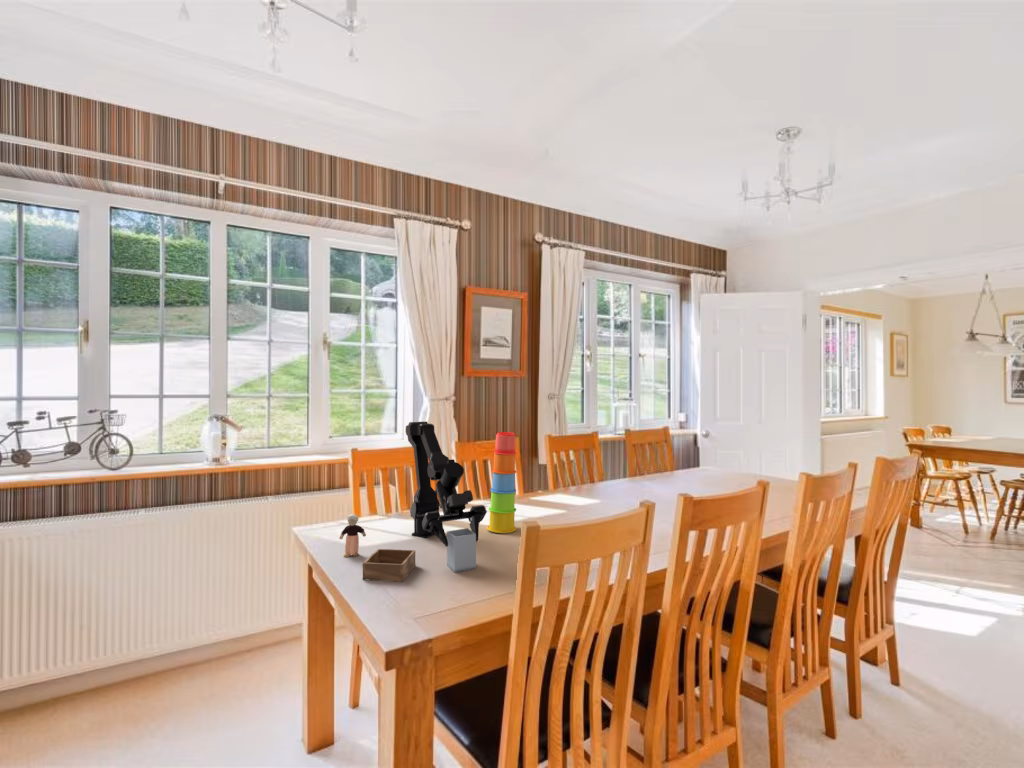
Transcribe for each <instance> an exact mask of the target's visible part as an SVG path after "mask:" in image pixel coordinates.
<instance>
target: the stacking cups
mask: <svg viewBox="0 0 1024 768" xmlns="http://www.w3.org/2000/svg"><path fill="white" fill-rule="evenodd" d="M494 447H495V448H494V451H493V453H494V455H493V456H494V458H493V469H491V472H492V482H491V483H492V485H491V488H490V492H491V495H490V507H488V511H489V525H488V526H487V531H489V532H491V533H496V534H511V533H514V532H515V531H516V530H517V527H516V526H515V512H516V511H517V508H515V503H516V502H515V499H516V498H515V495H516V492H517V489H516V488H515V487H516V486H515V485H516V484H515V483H516V473H517V470H516V454H517V452H516V434H515V433H514V432H509V431H508V432H507V431H499V432H498V431H497V434H495V446H494Z"/></svg>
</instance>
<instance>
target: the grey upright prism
mask: <svg viewBox="0 0 1024 768" xmlns="http://www.w3.org/2000/svg"><path fill="white" fill-rule="evenodd" d="M446 537H447V540H448V546H447V547H446V566H447V567H448V568H449V569H450V570H451V571H452V572H453V573H455V574H456V573H461V571H462V572H465V570H467V571H470V570H471V569H472V570H476V569H477V542H476V534H475V533H474V532H472V531H471V528H470V529H469V528H467V527H466V528H461V529H459V528H458V529H454V530H447V531H446Z"/></svg>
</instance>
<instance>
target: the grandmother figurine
mask: <svg viewBox="0 0 1024 768" xmlns="http://www.w3.org/2000/svg"><path fill="white" fill-rule="evenodd" d="M346 520H347V523H348V525H347V526H345V527H344V529H342V531H341V534H340V535H339V537H338V538H339V540H343V539H344V537H345V535H346V537H345V544H344V545H345V546H344V548H345V550H344V552H345V553H344V554H343V558H349V557H350V556H352V557H358V556H360V553H359V543H360V542H359V534H358V533H360V534H361V535H362V537H364V538H365V537H366V536H367V533H366V532H365V529H364V528H363V527H362V526H360V525H358V524H357V523H358V521H359V517H358V515H356V514H355V513H351V514H348V515H347V519H346ZM357 555H358V556H357Z"/></svg>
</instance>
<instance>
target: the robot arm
mask: <svg viewBox="0 0 1024 768" xmlns="http://www.w3.org/2000/svg"><path fill="white" fill-rule="evenodd" d="M405 434H406V436H407V441H408V442H409V444H410V446H412V448H413V456H414V465H415V467H414V468H415V476H416V478H415V479H416V486H417V488H416V492H415V494H414V495H413V502H412V505H411V507H410V509H409V512H410V513H409V514H410V517H411V518H412V519H413V521H414V522H413V523H414V525H413V526H414V527H413V528H414V529H413V530H414V531H413V532H412V533H411V536H415V537H420V538H429V537H430V536H433V535H434V536H435V537H437V538H438V539H439V540H440V541H441V543H442V544H443V545H444V546H445V547H446V548H447V546H448V540H447V533H446V532H445V529H444V526H443V525H444V524H443V523H445V522H450V521H457V520H464V519H468V522H470V523H469V527H470V530H471V531H472V532H474V533H475V534H476V543H477V542H478V541H479V528H480V527H479V526H480V522H483V520H484V518H485V516H486V514H487V512H488V511H487V508H486V507H485V505H483V504H481V505H472V506H471V508H470V510H467V511H464V510H465V509H466V505H469V503H471V502H473V500H474V497H473V496H474V495H473V492H472V490H471V489H469V490H465V491H463V492H461V493H458V491H457V489H456V488H457V486H459V484H460V482H461V480H462V478H463V475H464V473H465V472H464V471H465V469H464V467H463V466H462V465H461V464H460V462H456V461H455V459H450V458H449V457H448V456H446V454H444V453H443V451H442V448H441V446H440V443H439V440H438V437H437V434H436V432H435V425H434V424H433V423H428V421H426V420H425V421H410V422H408V425H406V426H405ZM432 481H434V482H435V481H437V482H436V484H435V490H434V488H433V487H432V484H431V482H432ZM440 509H441V510H442V513H443V514H440Z"/></svg>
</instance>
